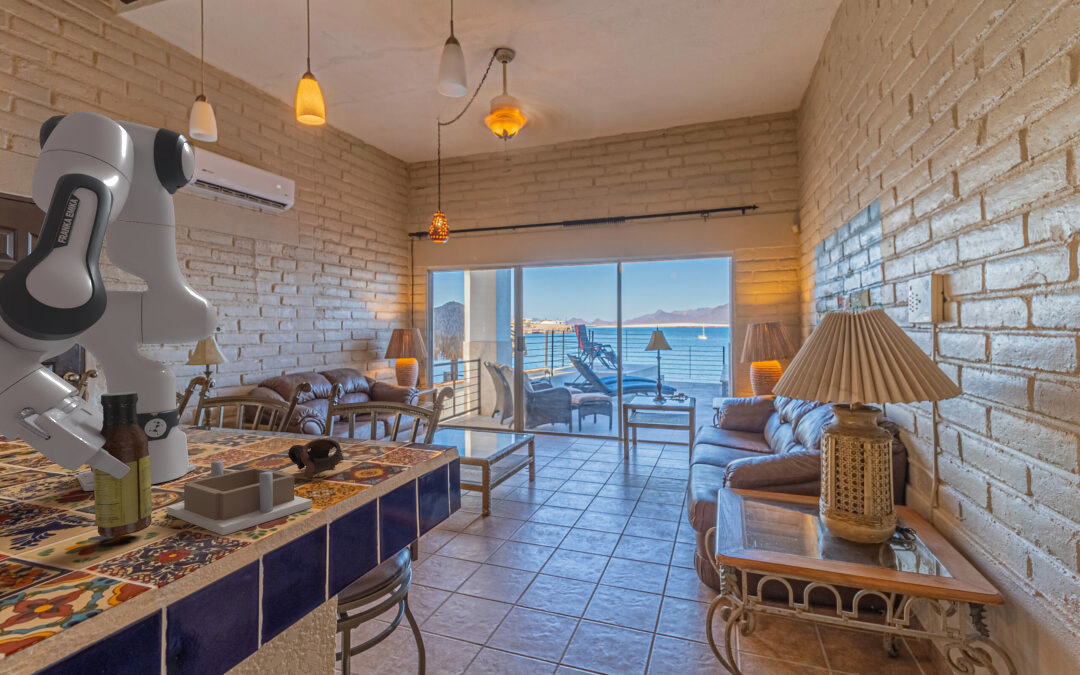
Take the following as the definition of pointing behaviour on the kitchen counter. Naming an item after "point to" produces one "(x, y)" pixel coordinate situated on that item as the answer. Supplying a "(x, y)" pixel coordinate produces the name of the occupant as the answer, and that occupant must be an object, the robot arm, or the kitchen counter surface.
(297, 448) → the pottery mug
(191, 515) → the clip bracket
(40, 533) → the kitchen counter surface
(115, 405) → the sauce bottle
